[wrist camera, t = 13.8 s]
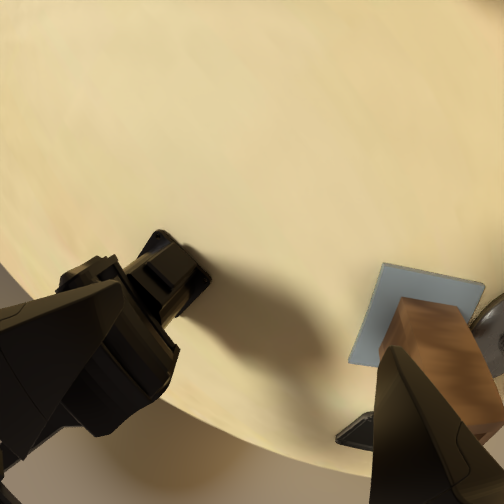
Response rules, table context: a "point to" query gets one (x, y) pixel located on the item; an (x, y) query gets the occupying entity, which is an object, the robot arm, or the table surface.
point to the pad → (412, 286)
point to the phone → (358, 433)
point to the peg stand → (491, 335)
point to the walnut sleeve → (448, 361)
